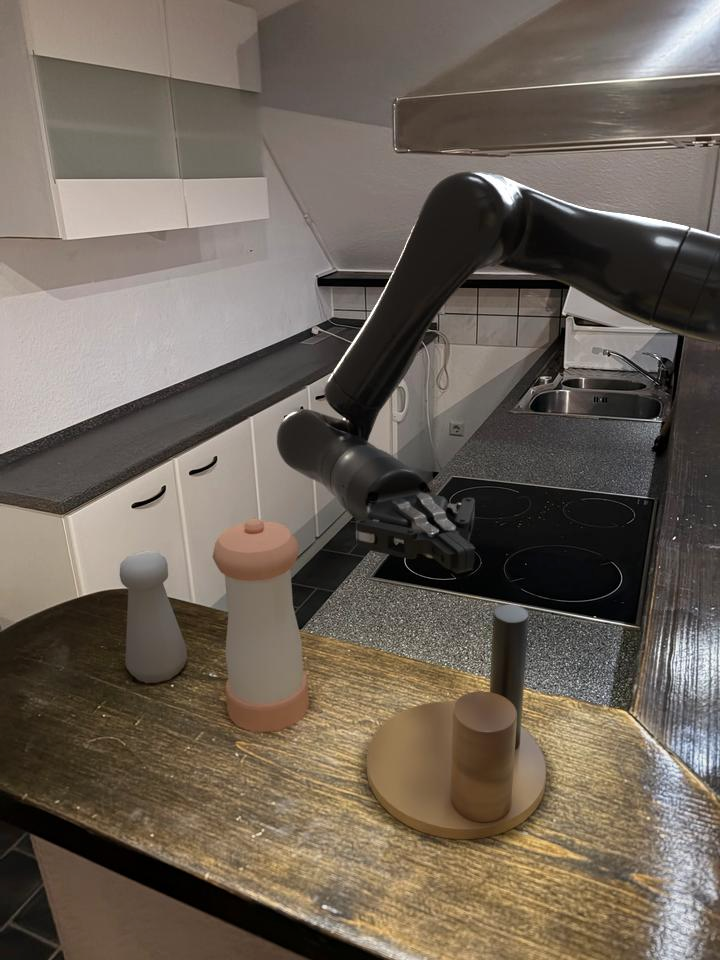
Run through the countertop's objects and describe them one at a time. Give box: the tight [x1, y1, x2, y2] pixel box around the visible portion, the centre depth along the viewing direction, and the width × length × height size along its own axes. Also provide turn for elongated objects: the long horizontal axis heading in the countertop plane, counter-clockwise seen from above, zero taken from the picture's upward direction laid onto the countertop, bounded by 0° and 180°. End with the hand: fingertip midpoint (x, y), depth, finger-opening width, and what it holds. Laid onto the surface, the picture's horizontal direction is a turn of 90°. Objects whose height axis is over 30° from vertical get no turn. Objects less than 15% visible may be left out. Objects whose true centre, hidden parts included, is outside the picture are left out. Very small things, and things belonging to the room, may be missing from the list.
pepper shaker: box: [212, 518, 310, 733], centre depth 65 cm, size 7×7×19 cm
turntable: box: [366, 604, 547, 840], centre depth 58 cm, size 14×14×13 cm
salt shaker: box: [119, 550, 188, 684], centre depth 72 cm, size 6×6×13 cm
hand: (466, 561), depth 64 cm, fingers closed
